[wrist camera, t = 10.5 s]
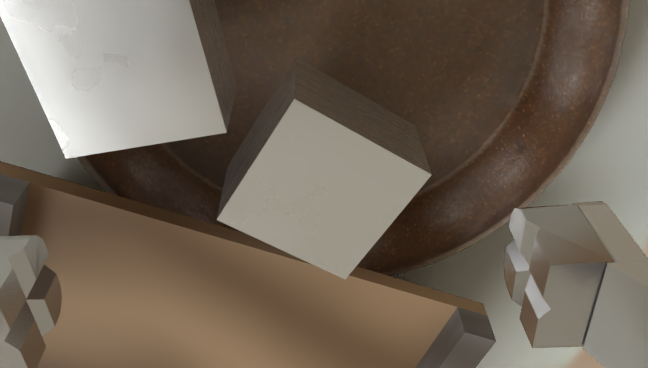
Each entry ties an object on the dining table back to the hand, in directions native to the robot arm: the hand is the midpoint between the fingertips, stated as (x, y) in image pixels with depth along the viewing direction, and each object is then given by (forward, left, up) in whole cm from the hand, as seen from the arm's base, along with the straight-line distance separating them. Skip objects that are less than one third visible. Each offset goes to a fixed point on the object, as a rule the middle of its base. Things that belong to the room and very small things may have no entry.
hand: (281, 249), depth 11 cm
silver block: (-4, -2, -9) cm, 10 cm away
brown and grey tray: (+8, -13, -11) cm, 19 cm away
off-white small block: (+3, -1, -9) cm, 9 cm away
